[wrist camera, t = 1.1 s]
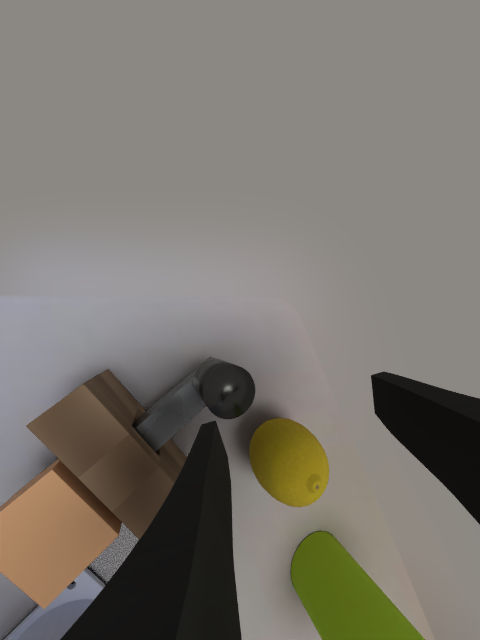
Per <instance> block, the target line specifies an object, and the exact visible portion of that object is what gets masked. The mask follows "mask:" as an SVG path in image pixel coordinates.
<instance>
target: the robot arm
mask: <svg viewBox="0 0 480 640" xmlns="http://www.w3.org/2000/svg"><path fill="white" fill-rule="evenodd" d="M371 379H372V389H373V399H374V409H375V414H376V415H377V416H378V418H379V419H380V420H381V421H382V423H383V424H384V425H385V426H386V428H387V429H388V430H389V431H390V432H391V434H393V435H394V437H395V438H397V440H398V441H399V442H400V443H402V444H403V445H404V446H405V447H406V448H407V449H408V450H409V451H410V452H411V453H412V454H413V455H414V456H415V457H416V458H417V459H418V460H419V461H420V462H421V463H422V464H423V465H424V466H425V467H426V468H427V469H428V470H429V471H430V472H431V473H432V474H433V475H434V476H436V478H437V479H439V480H440V481H441V482H442V483H443V484H444V486H446V487H447V489H448V490H449V491H451V493H452V494H453V495H454V496H455V497H456V498H457V499H458V500H459V502H460V503H461V504H462V505H463V506H464V507H465V508H466V509H467V511H468V512H469V513H470V514H471V515H472V516H473V517H474V518H475V519H476V521H477V522H478V523H479V524H480V399H479V398H475V397H471V396H467V395H463V394H459V393H456V392H452V391H448V390H445V389H442V388H438V387H435V386H431V385H428V384H425V383H422V382H419V381H415V380H412V379H409V378H405V377H402V376H399V375H395V374H391V373H387V372H381V373H377V374H374V375H371ZM73 581H75V582H76V583H74V584H69V585H68V586H67V587H66V588H65V589H64V590H63V591H62V592H61V593H60V594H59V595H58V596H57V597H56V598H55V599H54V600H53V601H52V602H51V603H50V604H49V605H48V606H47V607H46V608H45V609H43V608H42V607H41V606H40V605H38V606H37V607H36V608H35V609H34V610H33V611H32V612H31V613H30V614H29V615H28V616H27V617H26V618H25V619H24V620H23V621H22V622H21V623H20V624H19V625H18V626H17V627H16V628H15V629H14V630H13V631H12V632H11V633H10V634H9V635H8V636H7V637H6V638H5V639H4V640H242V639H241V630H240V621H239V612H238V602H237V592H236V583H235V573H234V561H233V538H232V500H231V479H230V471H229V464H228V457H227V454H226V451H225V448H224V445H223V442H222V438H221V435H220V432H219V429H218V426H217V423H216V421H212V422H209V423H206V424H202V425H201V427H200V429H199V432H198V434H197V437H196V439H195V441H194V444H193V446H192V448H191V451H190V453H189V455H188V457H187V459H186V461H185V463H184V465H183V468H182V470H181V472H180V474H179V475H178V477H177V479H176V481H175V483H174V485H173V487H172V489H171V490H170V492H169V494H168V496H167V498H166V499H165V501H164V503H163V504H162V506H161V508H160V509H159V511H158V513H157V514H156V516H155V517H154V519H153V521H152V522H151V524H150V525H149V527H148V528H147V530H146V531H145V533H144V534H143V536H142V537H141V538H140V540H139V541H138V543H137V544H136V545H135V547H134V548H133V550H132V551H131V553H130V554H129V555H128V557H127V558H126V560H125V561H124V562H123V564H122V565H121V566H120V567H119V569H118V570H117V571H116V573H115V574H114V575H113V577H112V578H111V579H110V580H109V582H108V583H107V584H106V585H105V584H104V583H103V582H102V581H101V580H100V579H98V578H97V577H96V576H95V575H94V574H93V573H92V572H91V571H90V570H89V569H88V568H86V569H85V570H84V571H83V572H82V573H81V574H80V575H79V576H77V577H76V578H75V579H74V580H73Z"/></svg>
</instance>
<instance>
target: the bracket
mask: <svg viewBox="0 0 480 640" xmlns="http://www.w3.org/2000/svg"><path fill="white" fill-rule="evenodd" d="M144 412H146V411H145V410H144V408H143V407H142V406H141V405H140V404H139V403H138V402H137V401H136V399H135V398H134V397H133V396H132V395H131V394H130V393H129V392H128V390H127V389H126V388H125V387H124V386H123V385H122V384H121V383H120V381H119V380H118V379H117V378H116V377H115V376H114V375H113V374H112V372H111V371H110V370H109V369H107V370H106V371H104V372H102V373H101V374H99V375H97V376H96V377H94V378H92V379H91V380H89V381H87V382H85V383H84V384H82V385H81V386H80V387H78V388H77V389H76V390H74V391H73V392H71V393H70V394H69V395H67V396H66V397H65V398H63V399H62V400H61V401H59V402H58V403H56V404H55V405H54V406H52V407H51V408H50V409H48V410H47V411H46V412H44V413H43V414H41V415H40V416H39V417H37V418H36V419H35V420H33V421H32V422H31V423H29V424H28V425H26V427H27V428H28V429H29V430H30V431H31V432H32V433H33V434H34V435H35V436H36V437H37V438H38V439H39V440H40V441H41V442H42V443H43V444H44V445H45V446H46V447H47V448H48V449H49V450H50V451H51V452H52V453H53V454H54V455H55V456H56V457H57V458H58V459H59V460H60V461H61V462H62V463H63V464H64V465H65V466H66V467H67V468H68V469H69V470H70V471H71V472H72V473H73V474H74V475H75V476H76V477H77V478H78V479H79V480H80V481H81V482H82V483H83V484H84V485H85V486H86V487H87V488H88V489H89V490H90V491H91V492H92V493H93V494H94V495H95V496H96V497H97V498H98V499H99V500H100V501H101V502H102V503H103V504H104V505H105V506H106V507H107V508H108V509H109V510H110V511H111V512H112V513H113V514H114V515H115V516H116V517H117V518H118V519H119V520H120V521H121V522H122V523H123V524H124V525H125V526H126V527H127V528H128V529H129V530H130V531H131V532H132V533H133V534H134V535H135V536H136V537H137V538H138V539H139V540H140V538H141V537H142V536H143V534H144V533H145V531H146V530H147V528H148V527H149V525H150V524H151V522H152V521H153V519H154V517H155V516H156V514H157V513H158V511H159V509H160V508H161V506H162V504H163V503H164V501H165V499H166V498H167V496H168V494H169V492H170V490H171V489H172V487H173V485H174V483H175V481H176V479H177V477H178V475H179V474H180V472H181V470H182V468H183V465H184V463H185V461H186V459H187V457H186V456H185V455H184V454H183V452H182V451H181V450H180V449H179V448H178V447H177V446H176V445H175V443H174V442H173V441H172V440H171V439H169V440H168V441H167V442H166V443H165V444H164V445H163V446H162V447H161V448H159V449H158V450H157V451H156V452H155V451H154V450H153V449H152V448H151V447H150V446H149V445H148V444H147V443H146V441H145V440H144V439H143V438H142V437H141V436H140V435H139V434H138V433H137V432H136V430H135V429H134V428H133V427H132V424H133V422H134V421H135V420H136V419H137V418H139V417H140V416H141V415H142V414H143V413H144Z"/></svg>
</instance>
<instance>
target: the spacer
mask: <svg viewBox="0 0 480 640" xmlns="http://www.w3.org/2000/svg"><path fill="white" fill-rule="evenodd" d="M120 527H121V521H120V520H119V519H118V518H117V517H116V516H115V515H114V514H113V513H112V512H111V511H110V510H109V509H108V508H107V507H106V506H105V505H104V504H103V503H102V502H101V501H100V500H99V499H98V498H97V497H96V496H95V495H94V494H93V493H92V492H91V491H90V490H89V489H88V488H87V487H86V486H85V485H84V484H83V483H82V482H81V481H80V480H79V479H78V478H77V477H76V476H75V475H74V474H73V473H72V472H71V471H70V470H69V469H68V468H67V467H66V466H65V465H64V464H63V463H62V462H61V461H60V460H59V459H57V460H56V461H55V462H54V463H52V464H51V465H50V466H49V467H47V468H46V469H45V470H44V471H43V472H41V473H40V474H39V475H38V476H36V477H35V478H34V479H33V480H31V481H30V482H29V483H28V484H26V485H25V486H24V487H23V488H22V489H20V490H19V491H18V492H17V493H15V494H14V495H13V496H12V497H11V498H10V499H9V500H8V501H7V502H6V503H4V504H3V505H2V506H1V507H0V572H1V573H2V574H3V575H5V576H6V577H7V578H8V579H9V580H10V581H12V582H13V583H14V584H15V585H16V586H17V587H19V588H20V589H21V590H22V591H23V592H24V593H26V594H27V595H28V596H29V597H30V598H31V599H33V600H34V601H35V602H36V603H37V604H38V605H40V606H41V607H42V608H43V609H45V608H46V607H47V606H48V605H49V604H50V603H51V602H52V601H53V600H54V599H55V598H56V597H57V596H58V595H59V594H60V593H61V592H62V591H63V590H64V589H65V588H66V587H67V586H68V585H69V584H70V583H71V582H72V581H73V580H74V579H75V578H76V577H77V576H79V575H80V574H81V573H82V572H83V571H84V570H85V569H86V568H87V567H88V566H89V565H90V564H91V563H92V562H93V561H94V560H95V559H96V558H97V557H98V556H99V555H100V554H101V553H102V552H103V551H104V550H105V549H106V548H107V547H108V546H109V545H110V544H111V543H112V542H113V541H114V540H115V539H116V538H117V537H118V536H119V532H120Z"/></svg>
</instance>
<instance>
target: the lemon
mask: <svg viewBox="0 0 480 640" xmlns="http://www.w3.org/2000/svg"><path fill="white" fill-rule="evenodd" d="M249 458H250V462H251V466H252V470H253V472H254V474H255V476H256V478H257V480H258V482H259V483H260V485H261V486H262V487H263V488H264V489H265V490H266V491H267V492H268V493H269V494H270V495H271V496H272V497H274V498H275V499H276V500H278V501H280V502H282V503H284V504H286V505H289V506H294V507H303V506H307V505H310V504H312V503H314V502H315V501H316V500H317V499H319V498H320V496H321V495H322V494H323V492H324V490H325V488H326V486H327V483H328V479H329V465H328V459H327V456H326V454H325V451H324V449H323V447H322V446H321V444H320V443H319V441H318V440H317V438H316V437H315V436H314V435H313V434H312V433H311V432H310V431H309V430H308V429H306V428H305V427H304V426H303V425H301V424H299V423H297V422H295V421H293V420H290V419H285V418H275V419H270V420H268V421H266V422H264V423H263V424H262V425H260V426H259V427H258V428H257V430H256V431H255V432H254V435H253V437H252V439H251V443H250V447H249Z"/></svg>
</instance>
